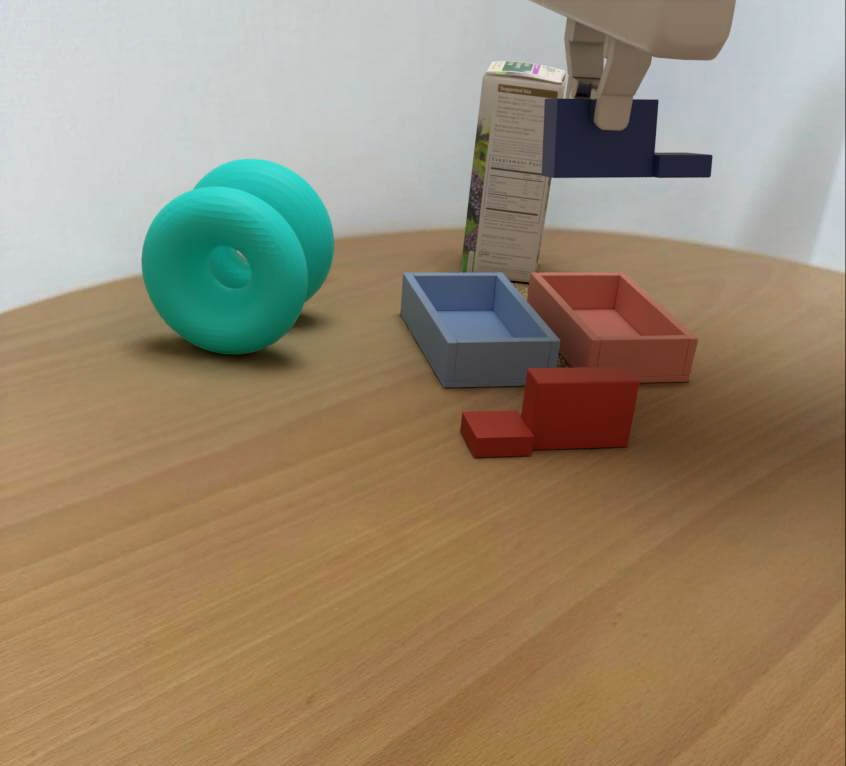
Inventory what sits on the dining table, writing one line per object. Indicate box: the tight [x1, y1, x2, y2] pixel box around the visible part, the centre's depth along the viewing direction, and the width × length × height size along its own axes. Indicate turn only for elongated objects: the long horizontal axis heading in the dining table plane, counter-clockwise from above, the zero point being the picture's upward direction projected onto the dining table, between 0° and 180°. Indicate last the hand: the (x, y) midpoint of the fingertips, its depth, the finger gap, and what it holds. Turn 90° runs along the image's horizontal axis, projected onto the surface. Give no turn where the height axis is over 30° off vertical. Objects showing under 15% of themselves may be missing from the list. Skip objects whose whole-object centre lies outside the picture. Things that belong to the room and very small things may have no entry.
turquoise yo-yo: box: [141, 158, 335, 356], centre depth 71 cm, size 10×10×10 cm
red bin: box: [526, 271, 699, 384], centre depth 76 cm, size 7×12×3 cm, turn 13°
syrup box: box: [459, 60, 568, 283], centre depth 85 cm, size 6×6×14 cm
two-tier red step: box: [459, 367, 641, 458], centre depth 63 cm, size 9×3×4 cm, turn 102°
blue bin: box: [399, 272, 560, 389], centre depth 74 cm, size 7×12×3 cm, turn 13°
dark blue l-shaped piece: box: [542, 97, 713, 179], centre depth 63 cm, size 9×3×4 cm, turn 104°
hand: (594, 119), depth 63 cm, fingers closed on dark blue l-shaped piece, 2 cm apart
